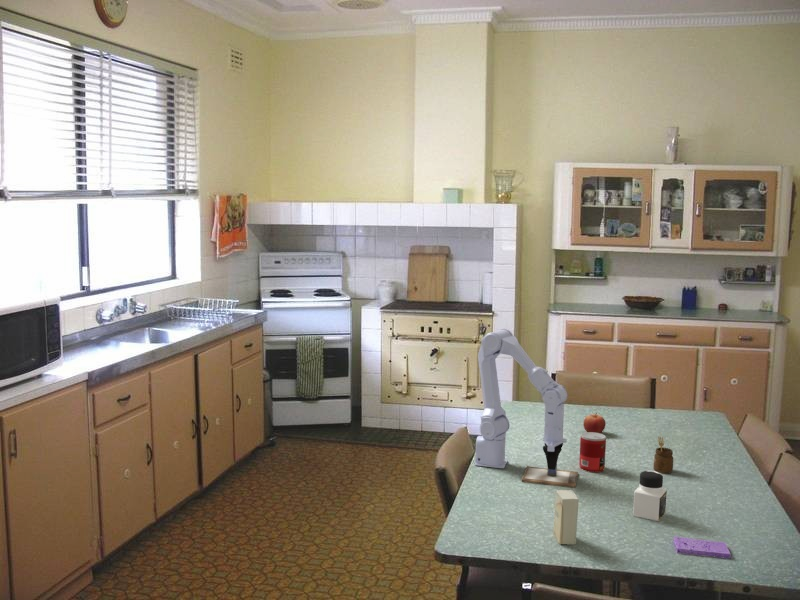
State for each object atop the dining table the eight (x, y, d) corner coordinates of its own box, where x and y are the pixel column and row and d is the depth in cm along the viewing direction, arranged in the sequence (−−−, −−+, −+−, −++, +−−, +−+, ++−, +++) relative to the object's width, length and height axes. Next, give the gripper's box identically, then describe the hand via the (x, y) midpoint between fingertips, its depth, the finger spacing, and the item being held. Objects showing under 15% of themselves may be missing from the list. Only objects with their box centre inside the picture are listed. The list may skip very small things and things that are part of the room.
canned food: (605, 473, 250) (606, 439, 249) (579, 471, 252) (580, 438, 251) (603, 465, 258) (605, 433, 256) (578, 463, 259) (580, 431, 258)
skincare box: (552, 534, 204) (554, 489, 202) (569, 534, 204) (571, 489, 203) (559, 545, 197) (561, 498, 196) (577, 545, 198) (579, 498, 196)
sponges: (673, 543, 201) (673, 536, 201) (725, 548, 198) (725, 541, 198) (676, 555, 194) (676, 547, 194) (730, 560, 192) (731, 553, 191)
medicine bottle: (659, 522, 213) (661, 479, 211) (632, 516, 217) (634, 474, 215) (665, 513, 219) (668, 471, 217) (639, 507, 223) (642, 466, 221)
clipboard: (521, 481, 242) (521, 478, 242) (527, 468, 254) (527, 464, 254) (575, 487, 237) (575, 484, 237) (577, 473, 250) (578, 470, 250)
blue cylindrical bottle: (546, 476, 245) (547, 450, 244) (547, 472, 248) (548, 447, 247) (556, 476, 244) (557, 450, 243) (556, 473, 247) (558, 448, 246)
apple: (608, 432, 295) (609, 412, 294) (601, 438, 288) (602, 416, 287) (587, 429, 299) (588, 408, 298) (580, 434, 292) (581, 413, 291)
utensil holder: (675, 470, 254) (678, 434, 252) (667, 475, 249) (669, 438, 248) (658, 466, 258) (660, 430, 256) (649, 471, 253) (651, 434, 252)
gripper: (565, 432, 236) (563, 476, 238) (568, 419, 250) (567, 461, 251) (541, 430, 238) (539, 473, 239) (546, 417, 252) (544, 459, 253)
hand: (552, 467), depth 246 cm, fingers closed on blue cylindrical bottle, 3 cm apart
